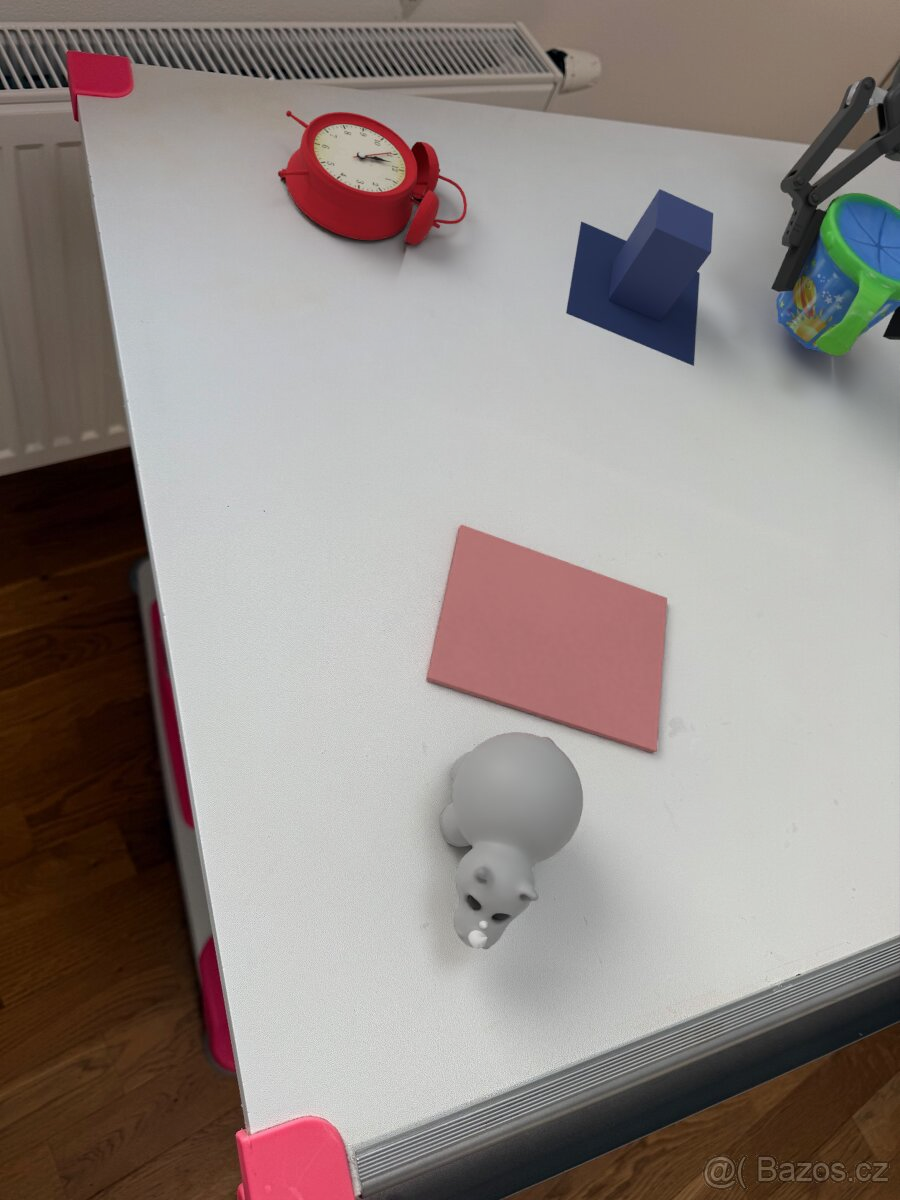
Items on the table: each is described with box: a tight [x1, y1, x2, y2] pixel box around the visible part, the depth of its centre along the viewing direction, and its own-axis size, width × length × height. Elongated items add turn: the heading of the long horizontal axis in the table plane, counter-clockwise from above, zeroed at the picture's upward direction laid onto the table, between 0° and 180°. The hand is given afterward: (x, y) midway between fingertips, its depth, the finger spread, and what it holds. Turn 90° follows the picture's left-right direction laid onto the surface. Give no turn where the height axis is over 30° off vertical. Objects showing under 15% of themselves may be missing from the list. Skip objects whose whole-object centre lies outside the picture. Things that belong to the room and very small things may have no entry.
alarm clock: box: [277, 110, 468, 246], centre depth 77 cm, size 10×6×15 cm
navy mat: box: [565, 221, 700, 367], centre depth 84 cm, size 12×12×1 cm
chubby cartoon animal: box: [438, 731, 584, 950], centre depth 53 cm, size 7×12×8 cm, turn 161°
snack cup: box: [776, 192, 900, 356], centre depth 83 cm, size 16×10×10 cm
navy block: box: [608, 188, 714, 321], centre depth 81 cm, size 5×5×8 cm
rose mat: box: [426, 524, 668, 754], centre depth 65 cm, size 16×12×1 cm
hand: (839, 314), depth 82 cm, fingers closed on snack cup, 10 cm apart
